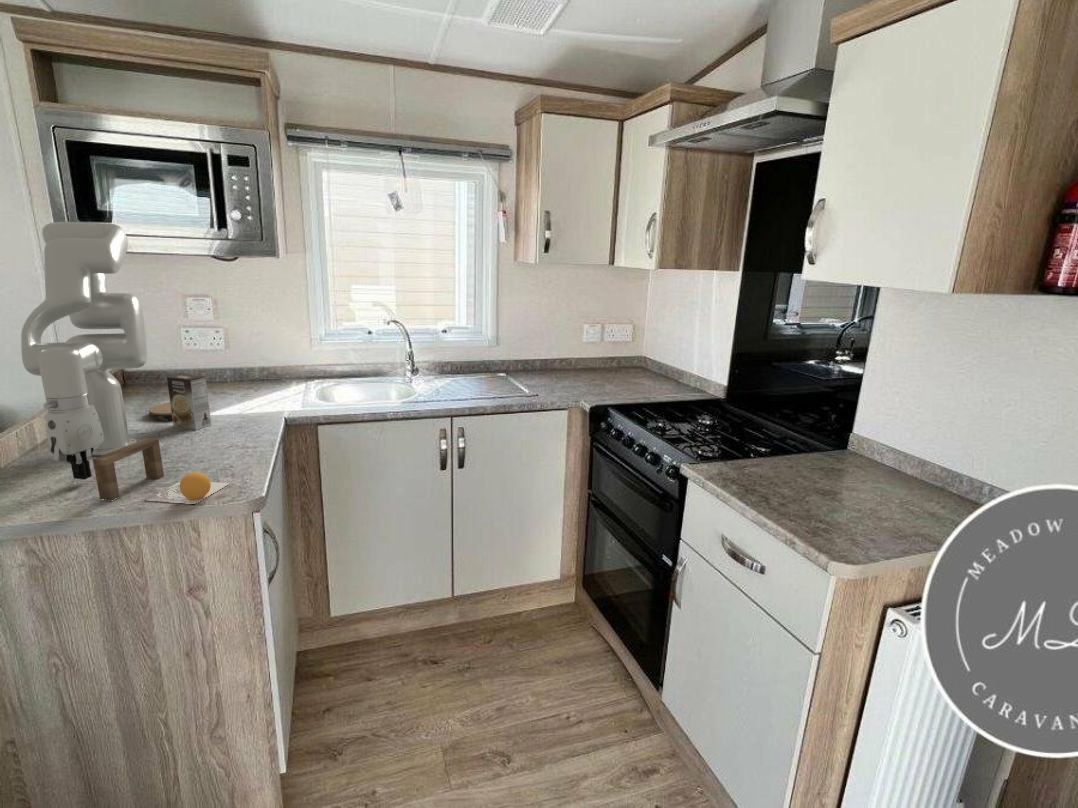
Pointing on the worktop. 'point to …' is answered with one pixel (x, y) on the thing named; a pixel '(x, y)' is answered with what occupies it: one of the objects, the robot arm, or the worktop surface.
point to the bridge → (106, 462)
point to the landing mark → (214, 488)
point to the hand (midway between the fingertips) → (82, 477)
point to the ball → (195, 485)
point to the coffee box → (189, 401)
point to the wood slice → (161, 412)
